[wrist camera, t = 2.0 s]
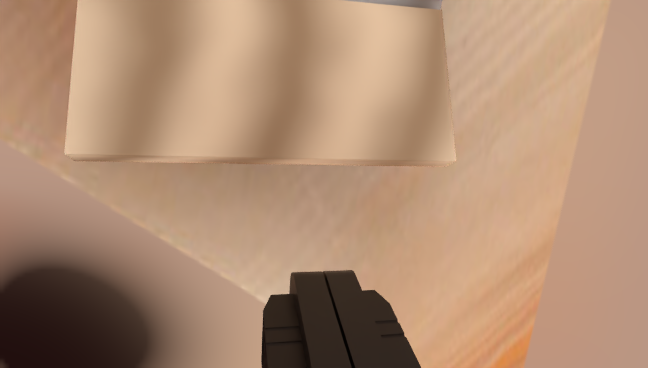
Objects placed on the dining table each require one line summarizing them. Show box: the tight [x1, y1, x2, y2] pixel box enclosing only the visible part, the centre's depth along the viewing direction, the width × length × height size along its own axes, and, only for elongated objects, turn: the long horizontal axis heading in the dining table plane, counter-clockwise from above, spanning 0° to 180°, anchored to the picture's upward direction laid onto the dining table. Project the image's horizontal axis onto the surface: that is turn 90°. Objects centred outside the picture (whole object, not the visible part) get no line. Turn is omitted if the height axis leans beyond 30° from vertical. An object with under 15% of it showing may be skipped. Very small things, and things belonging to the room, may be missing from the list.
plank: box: [64, 0, 456, 167], centre depth 21 cm, size 18×8×1 cm
